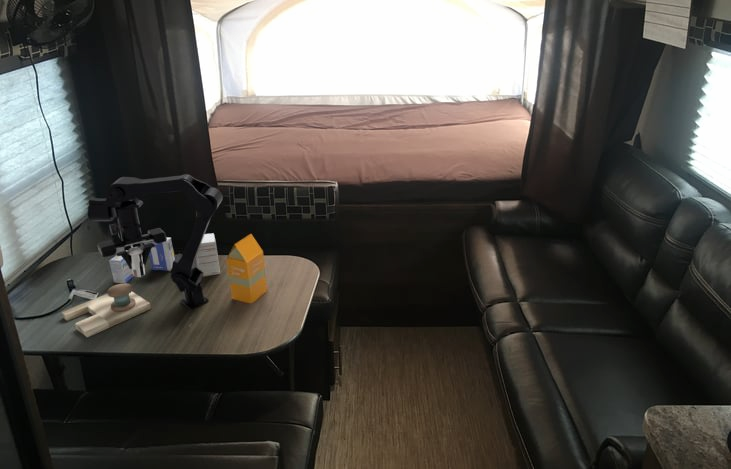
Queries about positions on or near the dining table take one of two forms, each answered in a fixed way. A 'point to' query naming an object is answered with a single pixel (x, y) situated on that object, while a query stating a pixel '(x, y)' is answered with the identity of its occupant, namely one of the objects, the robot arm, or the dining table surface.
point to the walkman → (162, 255)
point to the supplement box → (208, 256)
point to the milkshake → (137, 261)
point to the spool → (121, 297)
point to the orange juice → (246, 270)
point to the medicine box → (120, 270)
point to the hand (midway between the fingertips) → (137, 267)
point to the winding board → (103, 313)
